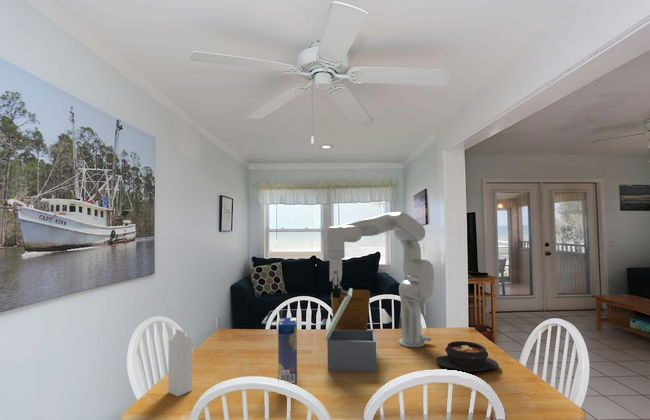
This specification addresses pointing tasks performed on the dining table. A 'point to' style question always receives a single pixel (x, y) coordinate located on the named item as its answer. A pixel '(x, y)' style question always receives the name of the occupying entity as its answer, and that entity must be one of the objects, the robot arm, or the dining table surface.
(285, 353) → the beverage box
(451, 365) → the casserole
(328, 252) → the robot arm
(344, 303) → the lid
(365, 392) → the dining table surface
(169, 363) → the milk
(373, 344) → the storage box
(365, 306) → the pancake mix bag
